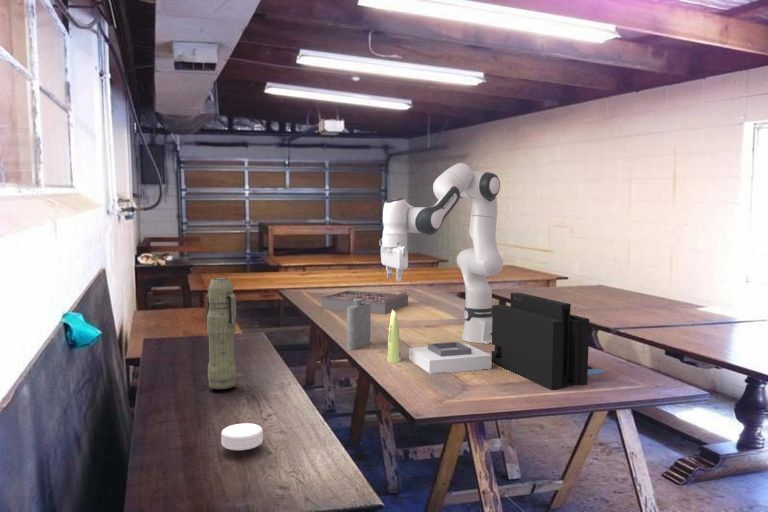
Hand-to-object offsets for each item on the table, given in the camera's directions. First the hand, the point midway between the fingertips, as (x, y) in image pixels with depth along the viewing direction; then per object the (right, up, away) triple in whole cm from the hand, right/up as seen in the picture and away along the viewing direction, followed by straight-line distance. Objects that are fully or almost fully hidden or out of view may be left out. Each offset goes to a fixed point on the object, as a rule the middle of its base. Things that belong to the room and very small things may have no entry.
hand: (394, 279), depth 233 cm
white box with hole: (+20, -31, -1) cm, 37 cm away
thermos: (-56, -34, -28) cm, 71 cm away
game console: (+57, -33, -9) cm, 66 cm away
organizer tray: (-14, -22, +117) cm, 119 cm away
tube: (0, -31, +3) cm, 31 cm away
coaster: (-39, -38, -76) cm, 94 cm away
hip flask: (-14, -29, +27) cm, 42 cm away
